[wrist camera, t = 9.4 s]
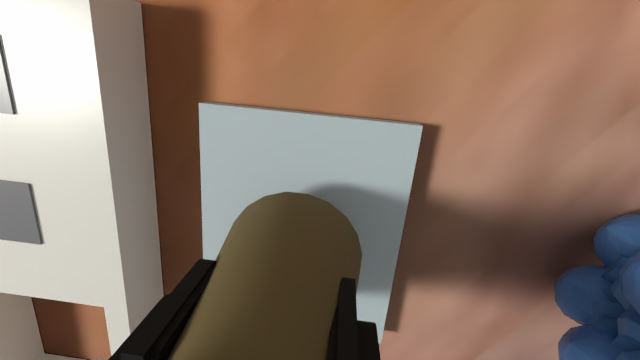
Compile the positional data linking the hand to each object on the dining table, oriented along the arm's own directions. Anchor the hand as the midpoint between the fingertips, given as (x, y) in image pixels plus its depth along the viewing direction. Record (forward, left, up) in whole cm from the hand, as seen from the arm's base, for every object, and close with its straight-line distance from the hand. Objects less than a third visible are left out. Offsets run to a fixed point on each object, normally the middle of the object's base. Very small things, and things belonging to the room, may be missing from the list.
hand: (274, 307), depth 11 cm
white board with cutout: (-2, +13, -6) cm, 14 cm away
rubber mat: (0, 0, -6) cm, 6 cm away
